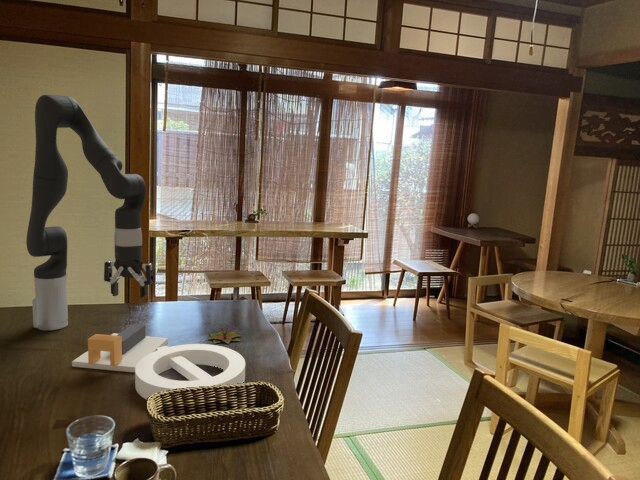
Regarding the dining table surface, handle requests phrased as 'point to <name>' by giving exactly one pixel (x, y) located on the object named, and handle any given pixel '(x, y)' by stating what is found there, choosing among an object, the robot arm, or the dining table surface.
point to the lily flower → (224, 334)
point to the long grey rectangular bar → (132, 336)
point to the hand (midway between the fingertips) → (129, 296)
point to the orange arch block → (105, 348)
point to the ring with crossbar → (188, 367)
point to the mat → (123, 356)
